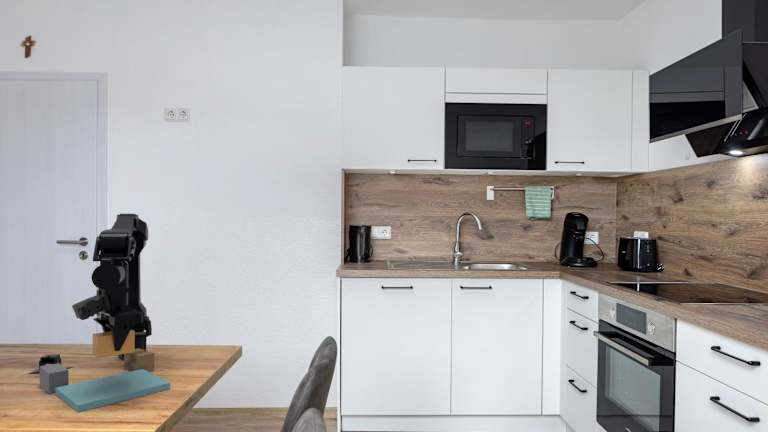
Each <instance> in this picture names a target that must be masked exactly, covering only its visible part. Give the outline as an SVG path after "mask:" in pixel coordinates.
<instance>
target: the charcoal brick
mask: <svg viewBox="0 0 768 432" xmlns="http://www.w3.org/2000/svg"><path fill="white" fill-rule="evenodd" d="M65 367H66V366H64V365H62V363H61V364H59V363H57V364H46V366H40V374H39V383H38V384H39V385H38V386H39V387H40V389H42V390H43V391H44V392H45V393H47V394H48V395H52V394H55V388H56V387H61V386H66V385H69V380H70V379H69V374H70V373H69V372H70V370H68V369H67V368H65Z"/></svg>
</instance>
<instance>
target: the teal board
mask: <svg viewBox="0 0 768 432" xmlns="http://www.w3.org/2000/svg"><path fill="white" fill-rule="evenodd" d="M170 389H171V382H170V381H167V380H165V379H164V378H162V377H160V376H158V375H156V374H154V373H151V372H148V371H146V370H144V369H140V370H136V371H127V372H121V373H118V374H117V373H116V374H112V375H107V376H103V377H99V378H94V379H89V380H85V381H80V382H76V383H72V384H68V385H66V386H61V387H56V388H55V393H54V394H55V395H56V396H57V397H58V398H59V399H60V400H62V401H63V402H65V404H67V405H68V406H69V407H70V408H71V409H73V410H74V411H75V412H77V413H80V412H83V411H89V410H92V409H95V408H100V407H103V406H108V405H112V404H116V403H119V402H124V401H127V400H132V399H136V398H139V397H143V396H149V395H151V394H155V393H159V392H163V391H167V390H170Z"/></svg>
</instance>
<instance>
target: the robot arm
mask: <svg viewBox="0 0 768 432" xmlns="http://www.w3.org/2000/svg"><path fill="white" fill-rule="evenodd" d="M113 223H114V224H113V226H111V228H109V229H104V230H102V231H101V232H100V233H99V235H97V236H96V238H95V244H94V250H93V256H92V262H99V265H98V266H96V267H95V268H94V270H93V271H92V274H91V282H92V284H93V285H94V287H96V288H97V290H96V294H95V295H94V296H90V297H89V298H88V297H87V298H85V299H84V300H81V301H79V302H77V303H74V304H73V305H71V306H72V310H73V312H74V314H75V316H76V318H77V319H79V320H81V321H84V320H88V319H89V318H90V317H94V316H95V315H96V317H94V318H92V319H93V321H95V322H96V323H98V324H99V325H100V326H101V328H102V331H103V332H109V331H112V336H113V343H114V349H115V351H120V350H121V348H122V346H123V344H124V342H125V340H126V338H127V336H128V334H129V332H130V331H131V330H133V331H135V349H138V348H139V349H142V350H146V351H147V337H150V336H152V335H153V334H152V330H153V329H152V321H151V319H150V316H149V315H148V313H147V310H148V309H147V308H146V307H145V305H144V304H143V303H142V300H141V297H142V296H141V293H142V292H141V289H142V288H141V253H142V251H143V249H144V248H145V247H146V245H147V242H148V241H149V228H148V224H147V222H145V221H144V220H142V219H140V218H139V214H136V213H120V214H119V213H118V214H117V215H116V220H115V222H113ZM117 356H118V358H119V359H122V360H124V354H120V355H117Z"/></svg>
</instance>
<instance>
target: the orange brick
mask: <svg viewBox="0 0 768 432" xmlns="http://www.w3.org/2000/svg"><path fill="white" fill-rule="evenodd" d="M91 351H92V352H91V353H92V354H91V355H92V356H93V357H94V358H97V359H103V358H108V357H113V356H118V355H120V354H126V353H131V352H135V331H133V330H131V331H130V332H129V334H128V336H127V338H126V340H125V342H124V344H123V346H122V348H121V350H120V351H115V349H114V343H113V336H112V331H109V332H96V333H92V349H91Z"/></svg>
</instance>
